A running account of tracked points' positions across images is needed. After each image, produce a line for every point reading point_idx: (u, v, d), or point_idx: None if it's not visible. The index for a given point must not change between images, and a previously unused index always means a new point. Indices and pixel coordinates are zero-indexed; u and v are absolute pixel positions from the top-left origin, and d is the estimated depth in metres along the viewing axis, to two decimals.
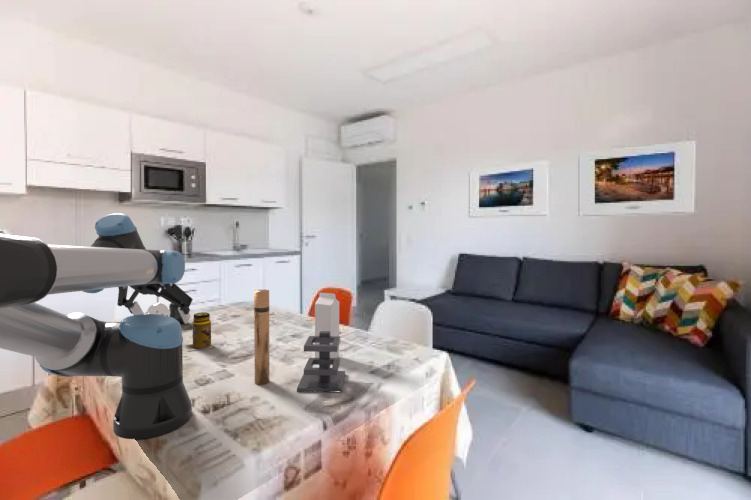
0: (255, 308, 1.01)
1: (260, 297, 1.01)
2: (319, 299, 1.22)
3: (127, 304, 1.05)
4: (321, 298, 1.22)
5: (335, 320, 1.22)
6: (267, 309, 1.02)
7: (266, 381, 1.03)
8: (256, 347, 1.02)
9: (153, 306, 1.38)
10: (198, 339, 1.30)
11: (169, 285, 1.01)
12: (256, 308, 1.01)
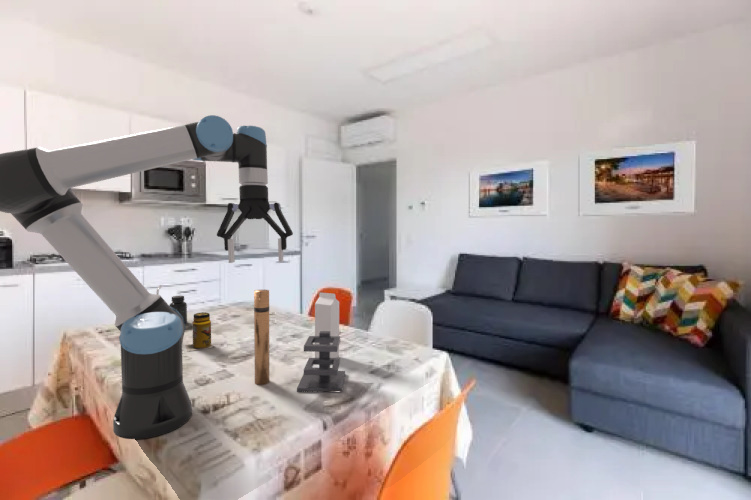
0: (255, 308, 1.01)
1: (260, 297, 1.01)
2: (319, 299, 1.22)
3: (227, 233, 1.01)
4: (321, 298, 1.22)
5: (335, 320, 1.22)
6: (267, 309, 1.02)
7: (266, 381, 1.03)
8: (256, 347, 1.02)
9: None
10: (198, 339, 1.30)
11: (278, 206, 1.02)
12: (256, 308, 1.01)
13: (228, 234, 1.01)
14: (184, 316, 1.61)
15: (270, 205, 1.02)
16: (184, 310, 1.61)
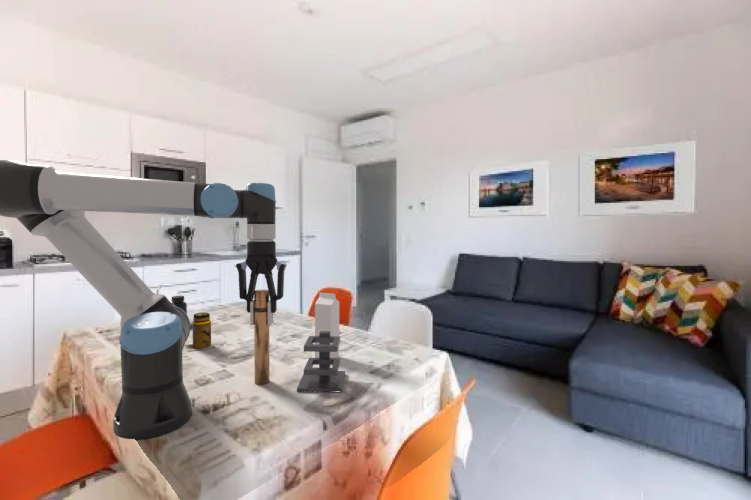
0: (255, 308, 1.01)
1: (260, 297, 1.01)
2: (319, 299, 1.22)
3: (248, 295, 1.02)
4: (321, 298, 1.22)
5: (335, 320, 1.22)
6: (267, 309, 1.02)
7: (266, 381, 1.03)
8: (256, 347, 1.02)
9: None
10: (198, 339, 1.30)
11: (284, 268, 1.02)
12: (256, 308, 1.01)
13: (249, 295, 1.02)
14: None
15: (277, 263, 1.02)
16: (184, 310, 1.61)
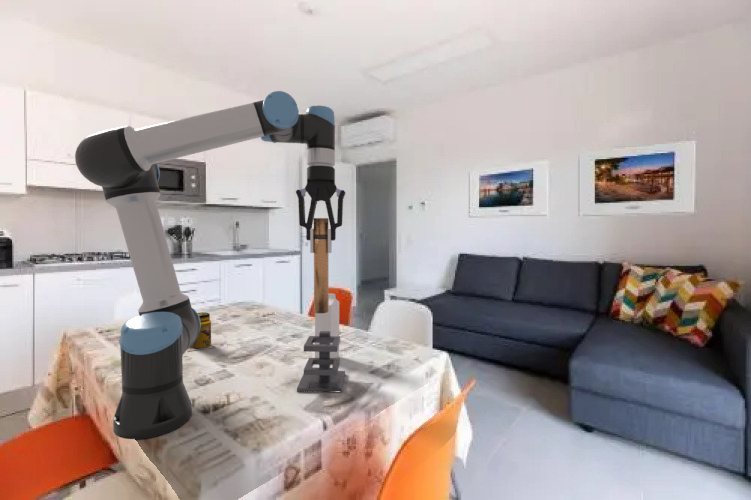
0: (315, 235, 1.00)
1: (321, 223, 1.00)
2: None
3: (308, 222, 1.00)
4: None
5: (335, 320, 1.22)
6: (327, 236, 1.01)
7: (326, 310, 1.02)
8: (316, 275, 1.01)
9: None
10: (198, 339, 1.30)
11: (344, 194, 1.00)
12: (316, 235, 1.00)
13: (309, 222, 1.00)
14: None
15: (337, 190, 1.01)
16: None
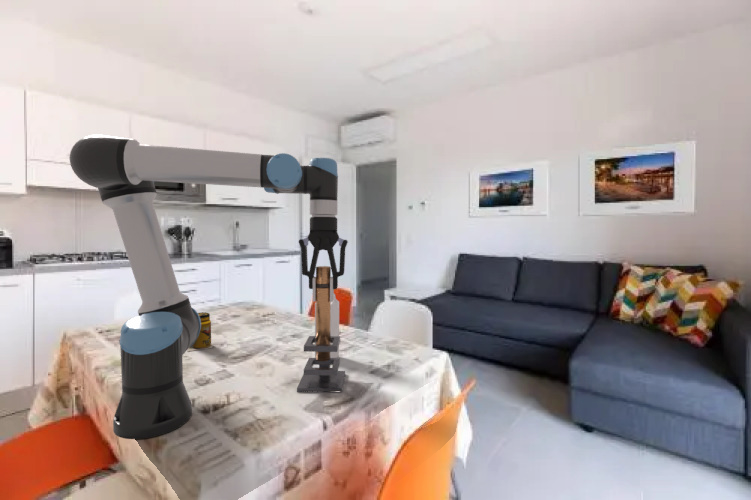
0: (317, 284, 1.01)
1: (323, 273, 1.01)
2: None
3: (310, 271, 1.01)
4: None
5: (335, 320, 1.22)
6: (329, 285, 1.02)
7: (328, 358, 1.03)
8: (318, 323, 1.02)
9: None
10: (198, 339, 1.30)
11: (346, 244, 1.01)
12: (318, 284, 1.01)
13: (312, 272, 1.01)
14: None
15: (339, 239, 1.01)
16: None
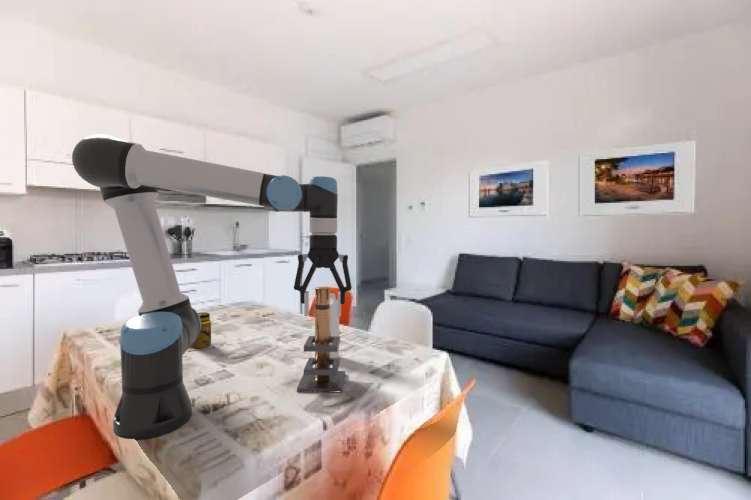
0: (317, 305, 1.02)
1: (322, 294, 1.01)
2: None
3: (303, 286, 1.02)
4: None
5: (335, 320, 1.22)
6: (328, 306, 1.02)
7: (327, 378, 1.03)
8: None
9: None
10: (198, 339, 1.30)
11: (347, 259, 1.02)
12: (317, 305, 1.01)
13: (304, 287, 1.02)
14: None
15: (339, 256, 1.02)
16: None
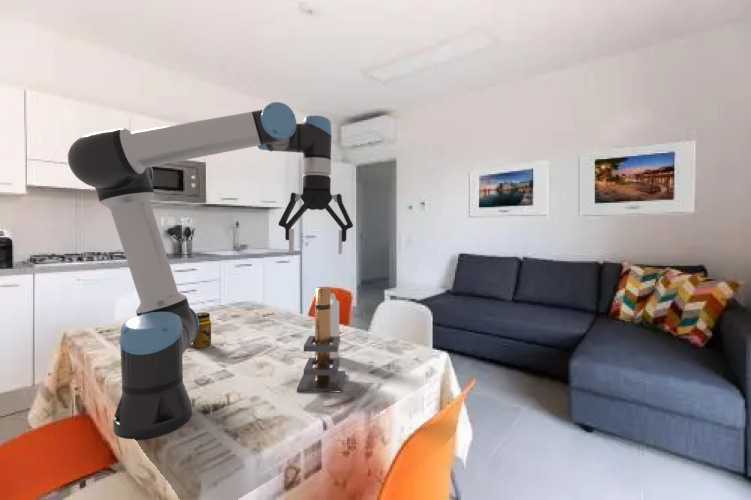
0: (317, 305, 1.02)
1: (323, 294, 1.01)
2: None
3: (289, 223, 1.01)
4: None
5: (335, 320, 1.22)
6: (329, 306, 1.02)
7: (327, 378, 1.03)
8: None
9: None
10: (198, 339, 1.30)
11: (341, 197, 1.01)
12: (318, 305, 1.01)
13: (290, 224, 1.01)
14: None
15: (332, 196, 1.01)
16: None
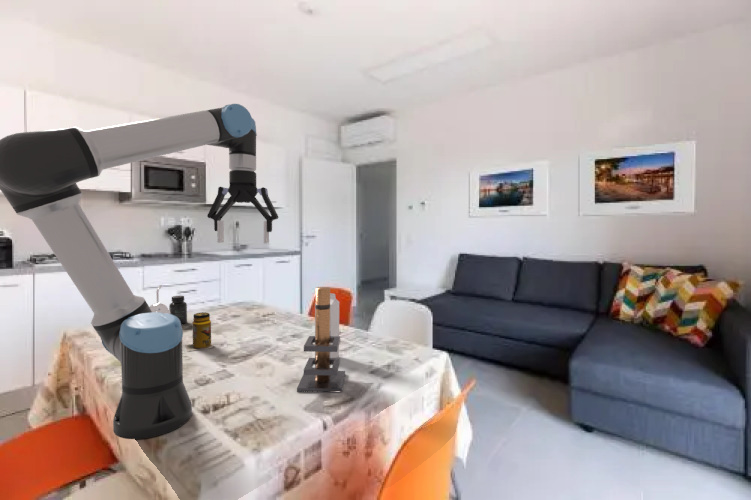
0: (317, 305, 1.02)
1: (322, 294, 1.01)
2: None
3: (217, 215, 1.09)
4: None
5: (335, 320, 1.22)
6: (329, 306, 1.02)
7: (327, 378, 1.03)
8: None
9: (153, 306, 1.38)
10: (198, 339, 1.30)
11: (265, 190, 1.09)
12: (318, 305, 1.01)
13: (218, 216, 1.09)
14: (184, 316, 1.61)
15: (257, 190, 1.09)
16: (184, 310, 1.61)
